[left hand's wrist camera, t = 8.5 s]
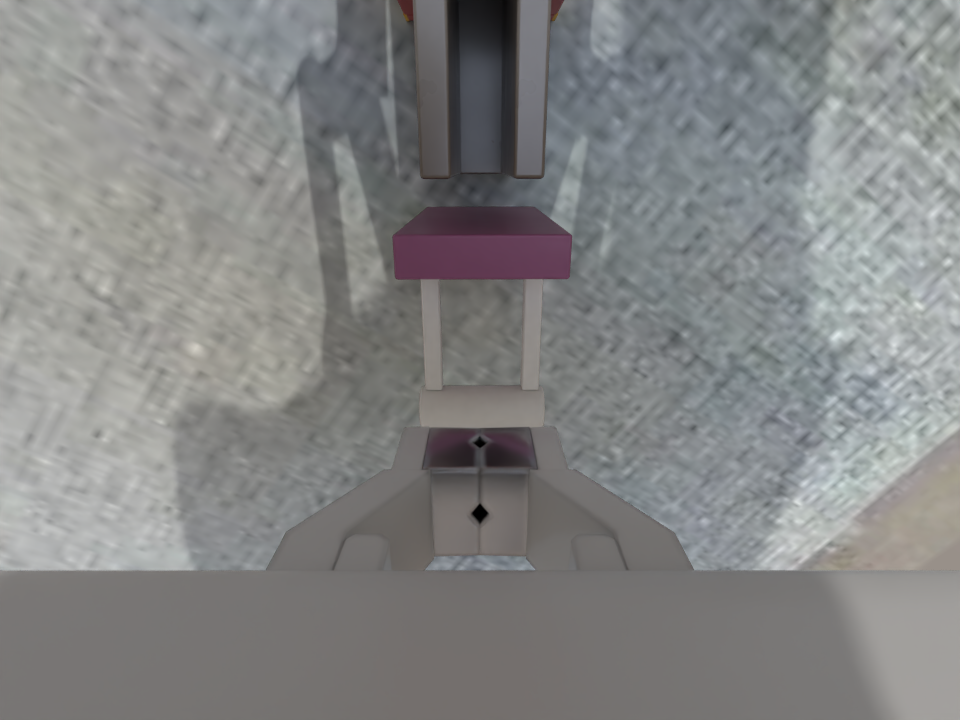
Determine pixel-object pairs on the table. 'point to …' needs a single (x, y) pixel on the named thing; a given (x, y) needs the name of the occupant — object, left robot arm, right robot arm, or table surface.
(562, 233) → the drawer
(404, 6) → the red yellow-edged box
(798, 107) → the table surface
